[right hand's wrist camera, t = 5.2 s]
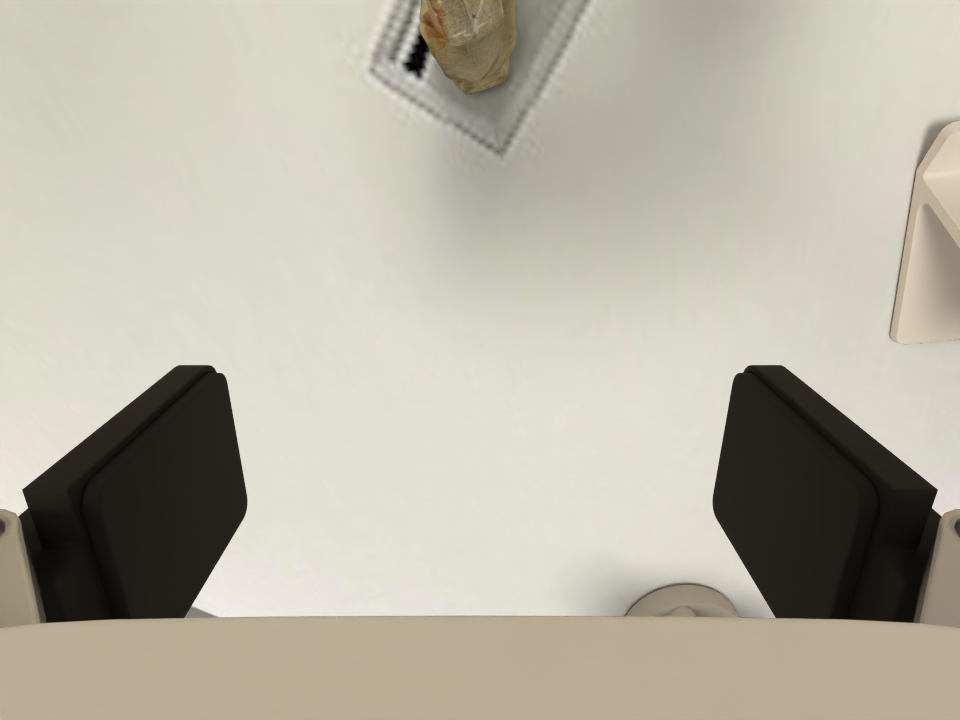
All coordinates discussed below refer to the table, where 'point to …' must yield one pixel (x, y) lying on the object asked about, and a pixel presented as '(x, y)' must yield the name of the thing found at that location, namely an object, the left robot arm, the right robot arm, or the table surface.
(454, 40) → the sculpture
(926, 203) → the tablet stand
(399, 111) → the table surface
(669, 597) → the bust sculpture
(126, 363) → the table surface
